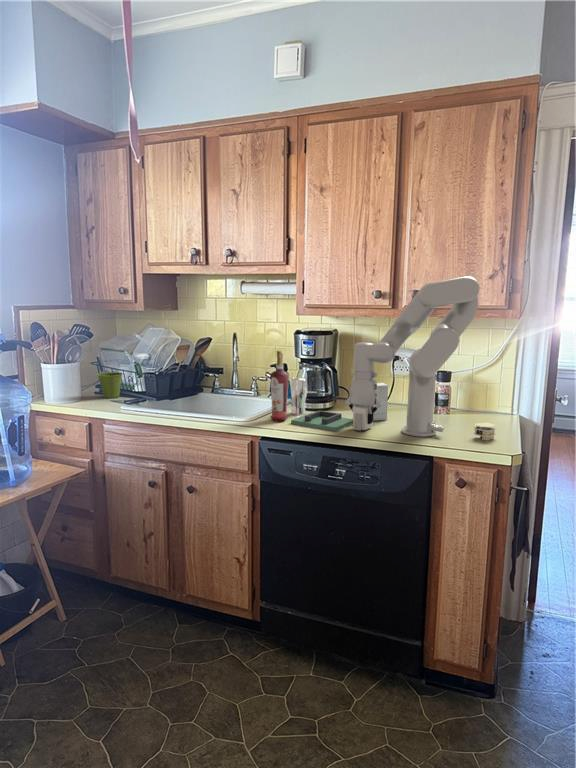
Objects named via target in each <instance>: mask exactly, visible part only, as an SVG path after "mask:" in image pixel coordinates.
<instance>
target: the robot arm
mask: <svg viewBox="0 0 576 768" xmlns="http://www.w3.org/2000/svg"><path fill="white" fill-rule="evenodd" d="M480 291H481V290H480V284H479V281H478V280H477V279H475V277H472V276H461V277H456V278H451V279H447V280H442V281H435V282H428V283H426V284H424V285H423V286H422V287H420V289H419V290H418V291H417V293H416V294H415V295H414V296H413V297H412V299H411V300H410V302H409V303H407V305H406V306H405V308H404V309H403V310H402V311H401V312H400V314H399V315H398V317H397V318H396V319H395V321H394V323H393V324H392V325H391V327H390V328H389V329H388V331H387V332H386V333H385V334H384V336H383V337H382V338H381V339H380V341H379V342H378V343H372V342H367V341H365V342H364V341H363V342H361V341H360V342H356V343H355V344H354V345H353V377H352V379H351V384H350V389H349V396H348V398H347V399H346V400H345V404H346V405H347V406H348V407H349V408H350V410H351V412H352V413H353V408H354V407H356V406H359V405H362V406H367V407H368V411H369V414H368V424H371V423H372V422H373V423H374V421H373V413H374V412H375V411H376V410H377V409H379V408H380V407H381V406H382V404H381V403H380V401H379V400H378V388H377V383H378V382H377V379H376V378H378V373H376V371H375V363H379V364H389V363H391V362H392V361H394V359H395V356H396V353H397V352H398V350H399V349H400V348H401V347H402V346H403V344H404V343H405V342H406V341H407V340H408V339H409V338H410V337H411V336H412V335H413V334H415V333H416V332H417V331H418V330H419V329H421V327H422V325H423V324H424V323H425V321H426V320H427V319H428V318H429V317H430V315H431V314H432V313H433V312H434V311H435V309H436V308H439V307H446V306H452V307H451V308H450V309H449V310H448V312H447V313H446V315H445V316H444V317H443V318H442V319H441V321H440V322H439V323H438V324H437V325H436V327H434V328H433V330H432V331H431V332H430V334H429V338H428V339H427V340H426V341H425V343H424V344H423V345H422V346H421V347H420V348H418V349H415V350H414V351H413V352H412V354H411V355H410V356H409V357H410V358H409V363H408V366H409V367H408V390H407V391H408V392H407V404H406V405H407V409H406V425H405V426H402V428H401V432H402V433H403V434H405V435H407V436H408V435H409V436H413V437H420V438H421V437H422V438H423V437H434V436H436V435H437V432H438V433H443V432H444V430H445V429H444V426H442V425H437V424H436V421H435V420H434V410H435V409H434V406H435V393H436V379H437V378H436V377H437V375H436V373H438V371H439V370H440V369H441V368H442V367H443V365H445V363H446V362H447V361H448V360H449V359H450V357H451V356H452V355H453V354H454V352H456V350H457V349H458V347H459V343H460V337H461V336H462V335H463V333H464V332H465V331H466V329H468V326H469V325H470V324H471V323H472V322H473V320H474V319H475V317H476V315H477V313H478V308H479V296H478V295H479V293H480ZM374 404H377V406H375V407H374V406H373V405H374Z"/></svg>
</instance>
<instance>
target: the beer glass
mask: <svg viewBox="0 0 576 768" xmlns="http://www.w3.org/2000/svg"><path fill="white" fill-rule="evenodd" d="M307 379H308V378H305V377H293V378H291V382H290V395H291V402H292V404H291V405H292V408H291V414H292V415H295V416H304V415H306V399H307V394H308V380H307Z"/></svg>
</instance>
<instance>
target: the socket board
mask: <svg viewBox="0 0 576 768" xmlns="http://www.w3.org/2000/svg"><path fill="white" fill-rule="evenodd" d="M342 416H343V415H342V413H338V412H333V411H327V410H326V411H325V410H317V411H314V412H309V413H307V414H304V415H300V416H299V417H295V418H293V419H291V420H290V425H291V424H292V425H296V426H302V427H306V428H307V427H309V428H314V429H319V430H325V431H331V432H338V430H339V431H340V429H341V430H343V429H345V428H348V427H349V426H351V425H352V426H353V418H348V417H342ZM344 427H345V428H344Z"/></svg>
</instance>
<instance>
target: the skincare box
mask: <svg viewBox="0 0 576 768" xmlns="http://www.w3.org/2000/svg"><path fill="white" fill-rule="evenodd" d="M377 388H378V400H379V401H380V403H381V404H382V406H381V407H380V408H379V409H377V410H376V411H375V412H374V413H373V422H374V421H387V420H388V398H389V397H388V395H389V385H388V384H386V383H384V382H377ZM373 406H374V407H375V406H377V404H374V405H373Z"/></svg>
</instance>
